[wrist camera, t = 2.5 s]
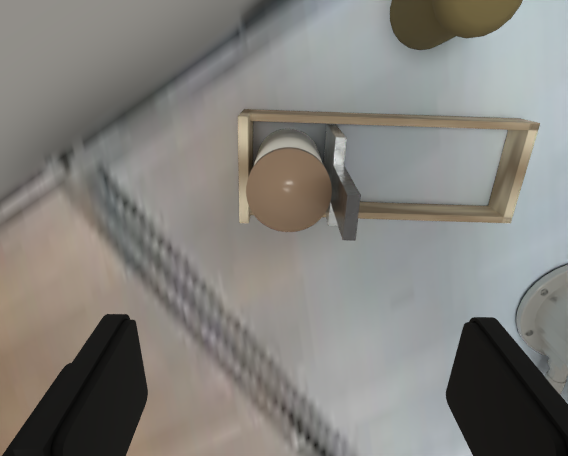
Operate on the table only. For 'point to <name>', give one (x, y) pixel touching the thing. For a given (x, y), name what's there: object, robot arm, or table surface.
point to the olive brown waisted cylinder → (447, 19)
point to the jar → (288, 182)
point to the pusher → (340, 185)
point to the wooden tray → (513, 151)
